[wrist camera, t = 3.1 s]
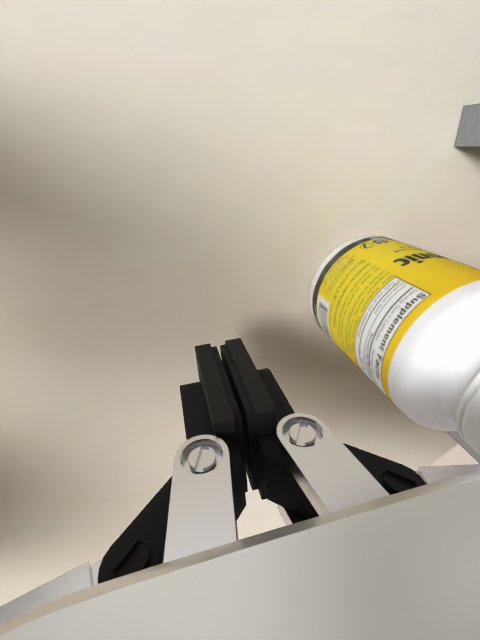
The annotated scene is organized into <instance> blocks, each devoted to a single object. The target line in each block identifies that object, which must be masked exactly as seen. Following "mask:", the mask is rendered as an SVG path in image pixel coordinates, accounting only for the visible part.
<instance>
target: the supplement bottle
mask: <svg viewBox="0 0 480 640" xmlns="http://www.w3.org/2000/svg"><path fill="white" fill-rule="evenodd" d="M309 303H310V309H311V312H312V315H313V317H314V319H315V321H316V323H317V324H318V325H319V326H320V328H321V329H322V330H323V331H324V332H325V333H326V334H327V335H328V336H329V337H330V338H331V339H332V340H333V341H334V342H335V343H336V344H337V346H338V347H339V348H340V349H341V350H342V351H343V352H344V353H345V354H346V355H347V356H348V357H349V358H350V359H351V360H352V361H353V362H354V363H355V364H356V365H357V366H358V367H359V368H360V369H361V370H362V371H363V372H364V373H365V374H366V375H367V376H368V377H369V378H370V379H371V380H372V381H373V382H374V383H375V384H376V385H377V387H378V388H379V389H380V390H381V391H382V392H383V393H384V394H385V395H386V396H387V397H388V398H389V399H390V400H391V401H392V402H393V403H394V404H395V405H396V406H397V407H398V408H399V409H400V410H401V411H402V412H403V413H404V414H405V415H406V416H407V417H408V418H410V419H411V420H412V421H414V422H415V423H417V424H419V425H421V426H423V427H426V428H429V429H433V430H438V431H457V432H458V434H459V435H460V437H461V438H462V439H463V440H464V441H465V442H467V444H468V445H469V446H470V447H471V448H472V449H473V450H474V451H476V452H477V453H478V454H479V455H480V270H478V269H476V268H473V267H470V266H468V265H465V264H462V263H459V262H456V261H453V260H450V259H448V258H445V257H442V256H439V255H436V254H433V253H430V252H428V251H425V250H422V249H419V248H416V247H413V246H410V245H407V244H404V243H401V242H399V241H396V240H393V239H390V238H386V237H382V236H375V235H369V236H362V237H357V238H354V239H351V240H349V241H347V242H345V243H343V244H342V245H340V246H339V247H337V248H336V249H335V250H333V251H332V252H331V253H330V254H329V255H328V256H327V257H326V259H325V260H324V261H323V262H322V264H321V265H320V267H319V268H318V270H317V272H316V274H315V276H314V278H313V281H312V284H311V288H310V296H309Z"/></svg>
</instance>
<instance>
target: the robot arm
mask: <svg viewBox="0 0 480 640" xmlns="http://www.w3.org/2000/svg"><path fill="white" fill-rule="evenodd" d="M220 348H221V358H222V361H221V358H220V355H219V353H218V350H217V347H211V345H210V344H204V345H199V346H195V352H196V359H197V365H198V372H199V379H200V382H196V383H191V384H186V385H181V386H180V392H181V400H182V407H183V415H184V423H185V431H186V438H187V441H185V442H184V443H183V444H182V445H181V446H180V447H179V449H178V450H177V452H176V455H175V458H174V466H173V476H172V477H171V478H170V479H169V480H168V481H167V482H166V484H165V485H164V486H163V487H162V488H161V489H160V491H159V492H158V493H157V494H156V495H155V496H154V497H153V499H152V500H151V501H150V502H149V503H148V504H147V505H146V507H145V508H144V509H143V510H142V511H141V512H140V514H139V515H138V516H137V517H136V518H135V519H134V520H133V522H132V523H131V524H130V525H129V526H128V527H127V528H126V530H125V531H124V532H123V533H122V534H121V535H120V537H119V538H118V539H117V540H116V541H115V542H114V543H113V545H112V546H111V547H110V548H109V550H108V551H107V553H106V554H105V556H104V557H103V559H102V560H100V561H98V562H96V563H94V564H92V565H90V564H89V561H88V562H86V563H84V564H82V565H80V566H78V567H76V568H74V569H72V570H71V571H69V572H67V573H65V574H63V575H61V576H59V577H57V578H55V579H53V580H51V581H49V582H47V583H45V584H43V585H42V586H40V587H38V588H36V589H34V590H32V591H30V592H28V593H26V594H24V595H22V596H20V597H18V598H16V599H14V600H13V601H11V602H9V603H7V604H5V605H3V606H1V607H0V640H480V464H475V465H452V466H428V467H418V471H413V470H412V469H410V468H408V467H406V466H404V465H402V464H399V463H397V462H394V461H391V460H388V459H386V458H383V457H380V456H377V455H375V454H372V453H369V452H366V451H364V450H361V449H358V448H355V447H352V446H350V445H347V444H344V443H342V442H341V441H340V440H339V439H338V438H337V436H336V435H335V434H334V433H333V432H332V431H331V430H330V429H329V428H328V427H327V425H326V424H325V423H324V422H323V421H321V420H320V419H319V418H317V417H315V416H313V415H310V414H306V413H295V412H294V411H293V409H292V407H291V406H290V404H289V402H288V400H287V399H286V397H285V395H284V393H283V392H282V390H281V388H280V387H279V385H278V383H277V381H276V380H275V378H274V376H273V374H272V373H271V371H270V370H269V369H268V368H266V369H261V370H257V369H256V367H255V365H254V363H253V362H252V360H251V358H250V356H249V354H248V352H247V350H246V348H245V346H244V344H243V342H242V340H241V339H240V338H238V339H233V340H227V341H225V345H221V346H220ZM246 472H247V475H248V478H249V481H250V485H251V488H252V490H256V489H258V490H259V493H260V496H261V499H262V500H263V499H268V500H270V501H272V502H274V503H276V504H278V509H279V512H280V514H281V516H282V518H283V520H284V522H285V524H286V525H287V526H284V527H281V528H278V529H274V530H271V531H268V532H264V533H261V534H258V535H254V536H251V537H248V538H244V539H241V540H238V531H237V519H238V518H239V516H240V514H241V513H242V511H243V509H244V508H245V506H246V498H245V492H247V491H248V489H247V476H246Z"/></svg>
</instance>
